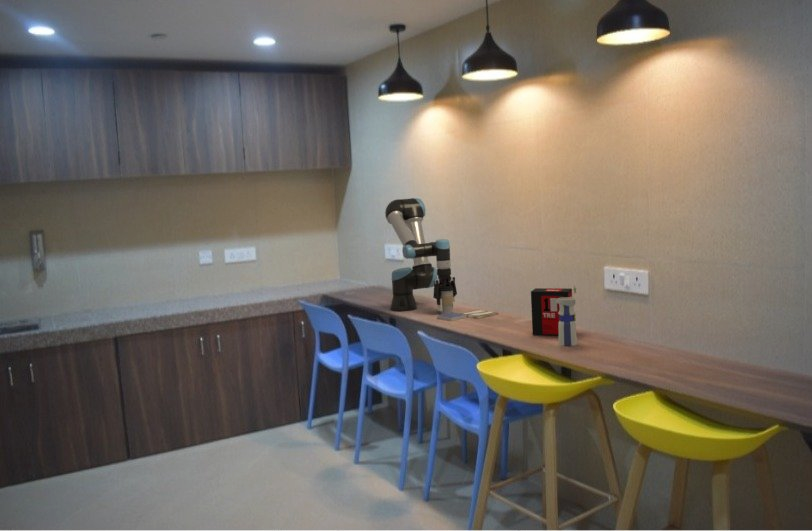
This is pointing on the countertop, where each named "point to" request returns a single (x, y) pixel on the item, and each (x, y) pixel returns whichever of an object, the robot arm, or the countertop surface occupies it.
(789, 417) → the countertop surface
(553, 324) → the cleaning product box
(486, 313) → the board
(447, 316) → the ink pad
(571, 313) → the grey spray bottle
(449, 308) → the coffee cup
